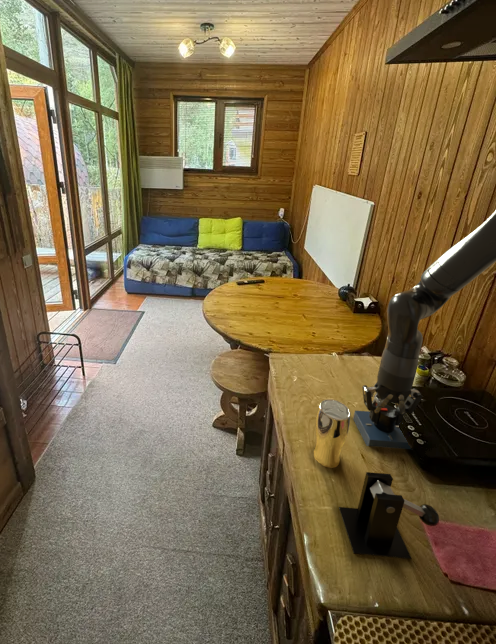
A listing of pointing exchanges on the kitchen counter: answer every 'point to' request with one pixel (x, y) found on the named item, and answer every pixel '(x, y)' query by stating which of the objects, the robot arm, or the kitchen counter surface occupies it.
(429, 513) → the tap lever
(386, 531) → the bracket
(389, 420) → the knob
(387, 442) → the valve panel
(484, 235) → the robot arm
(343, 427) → the beer glass
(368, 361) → the kitchen counter surface
